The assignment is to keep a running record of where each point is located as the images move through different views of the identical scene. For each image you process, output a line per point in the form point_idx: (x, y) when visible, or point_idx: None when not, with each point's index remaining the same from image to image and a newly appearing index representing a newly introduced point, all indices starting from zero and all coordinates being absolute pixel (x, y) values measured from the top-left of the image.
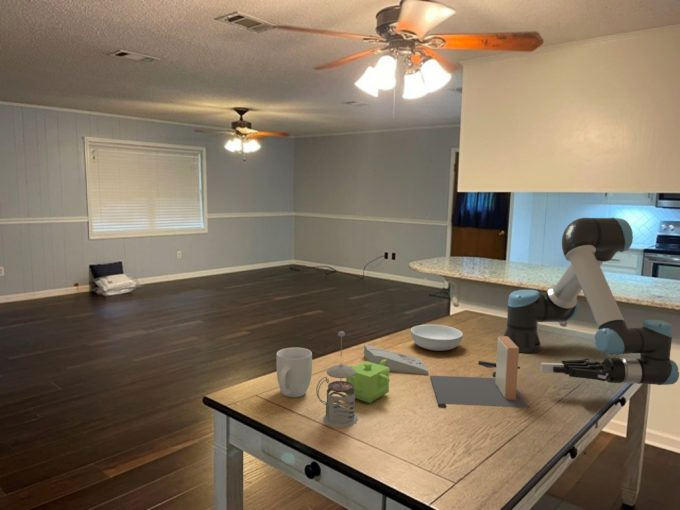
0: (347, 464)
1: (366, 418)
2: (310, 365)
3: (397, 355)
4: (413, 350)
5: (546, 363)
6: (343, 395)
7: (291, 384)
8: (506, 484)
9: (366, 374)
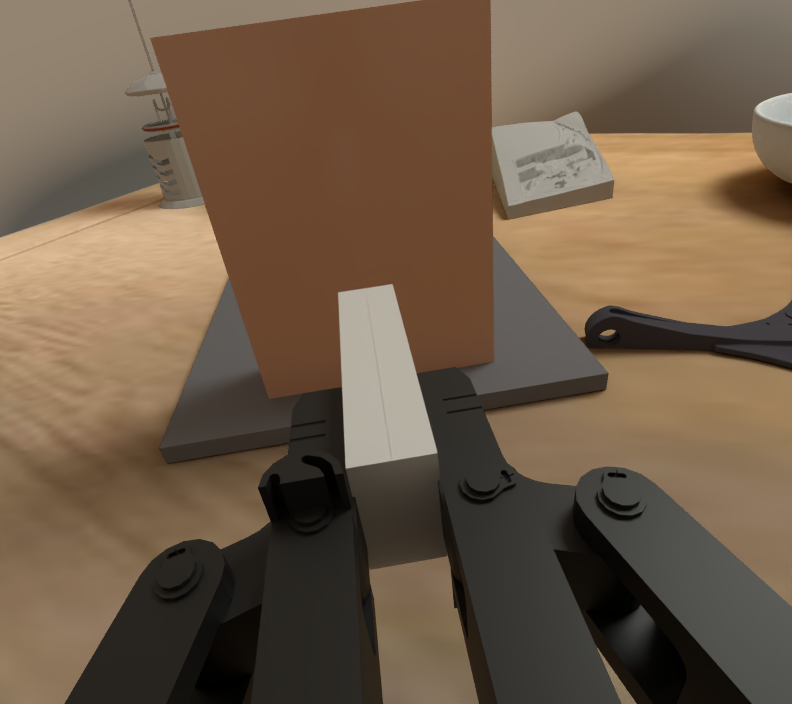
0: (24, 229)
1: (193, 211)
2: None
3: (548, 145)
4: (745, 171)
5: (370, 314)
6: None
7: None
8: None
9: None
